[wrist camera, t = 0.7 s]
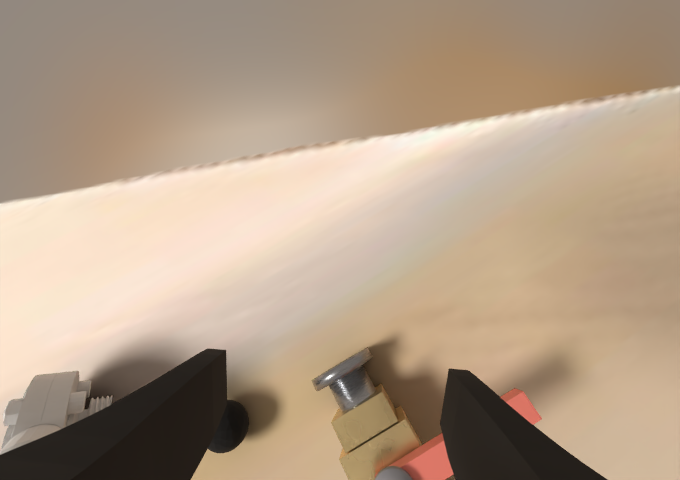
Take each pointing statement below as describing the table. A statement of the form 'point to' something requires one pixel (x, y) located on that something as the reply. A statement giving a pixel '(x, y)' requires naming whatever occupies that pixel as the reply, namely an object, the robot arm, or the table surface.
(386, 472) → the lever
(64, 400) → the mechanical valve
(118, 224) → the table surface
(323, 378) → the valve pipe
